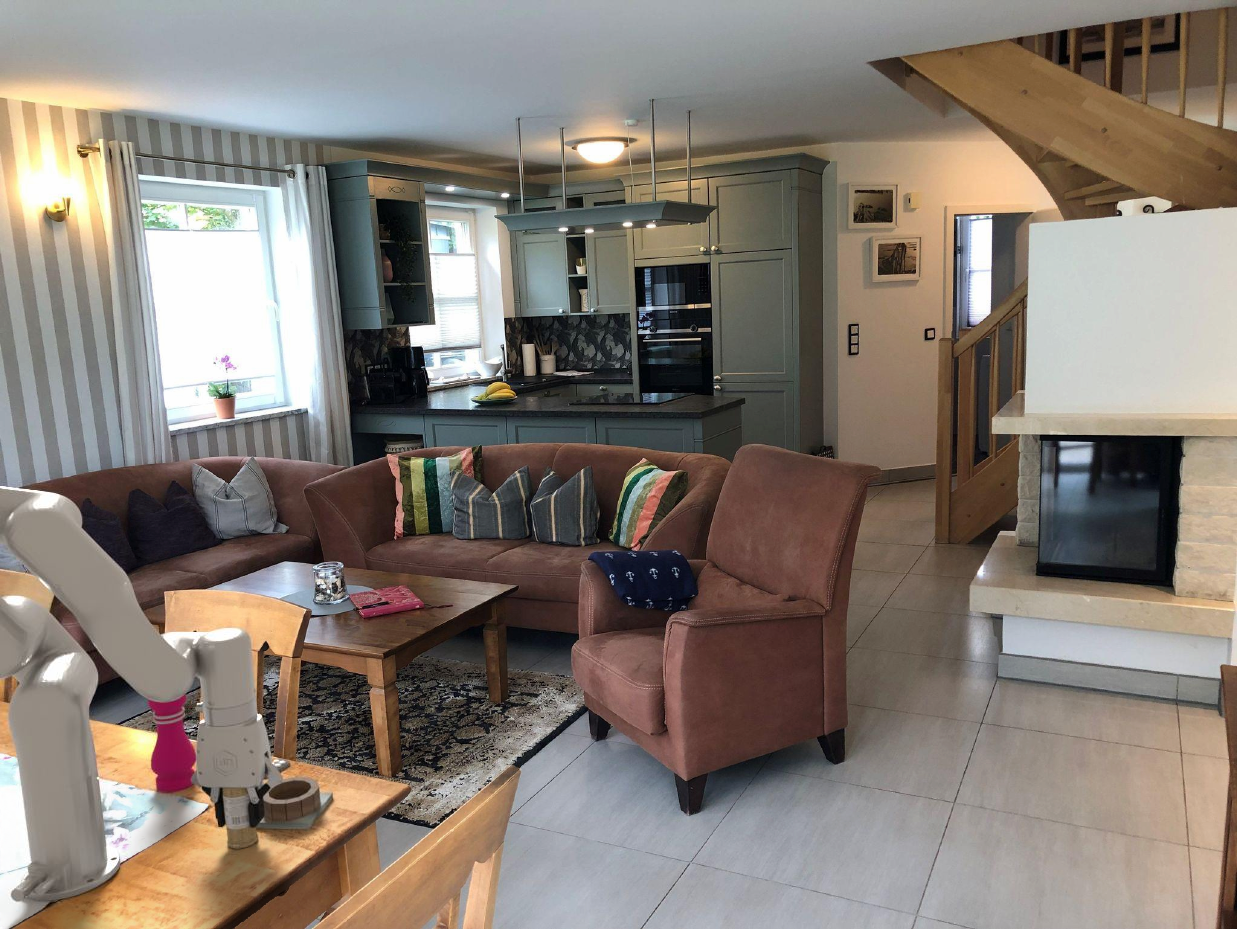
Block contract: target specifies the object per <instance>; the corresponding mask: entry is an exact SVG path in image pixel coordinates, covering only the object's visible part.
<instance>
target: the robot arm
mask: <svg viewBox="0 0 1237 929" xmlns="http://www.w3.org/2000/svg"><path fill="white" fill-rule="evenodd" d="M82 527H83V515H82V513H81V511H80V508H79V507H78V506H77V505H76V504H75V502H73V501H72V500H71V499H70V498H68V497H67V496H65V495H62V494H58V493H55V492H49V491H41V490H34V489H33V490H31V489H25V488H17V487H16V488H15V487H7V486H0V545H5V546H6V548H7V550H8V551H10V553H11V554H12V555H13V556H14V557H15V559H17V560H18V561H19V563H21V564H22V565H23V566H24V567H25V568H26V569H27V570H28V571H29V572H30V573H31V574H32V575H33V576H34V577H36V579H38V580H39V582H40V583H42V584H43V586H45V587H46V588H47V590H49V591H50V592H51V594H53V595H54V596H55V597H56V598H57V599H58V600H59V601H60V602H61V603H62V604H63V605H64V606H65V607H66V608H67V609H68V610H69V611H70V612H71V613H72V614H73V616H74V617H75V618H76V620H77V621H78V622H77V623H79V626H80V627H81V629H82V630H83V632H84V633H85V634H86V635H87V637H88V638H89V640H90V641H91V643H92V644H93V645H94V647H95V649H96V650H97V651H98V652H99V654H100V655H101V656H102V657H103V659H104V660H105V661H106V662H107V664H108V665H109V666H110V667H111V668H112V669H113V670H114V672H116V673H117V674H118V675H119V676H120V677H121V678H122V679H123V680H125V682H126V684H128V685H129V686H130V687H132V688H133V689H134V690H135V691H136V693H138V694H139V695H141V696H142V697H144V698H146V699H147V700H148V699H149V700H152V701H155V702H161V703H163V702H171V701H174V700H177V699H179V698H180V697H182V696H183V695H184V694H186V695H187V694H188V691H190V689H191V687H192V686H193V683H194V681H195V678H197V679H199V684H200V691H201V692H200V693H201V702H197V703H196V705H195V707H194V708H195V712H196V713H201V714H202V720H200V722H198V727H197V735H196V745H195V746H196V748H195V753H196V762H195V764H196V770H194V771H195V773H194V774H193V776H192V777H191V782H192V783H193V785H195V786H197V787H198V788H200V789H201V790H202V792H204V794H206V795H207V796H208V797H209V801H210V802H211V803H213V805H214V813H215V814H214V816H215V819H216V820H217V827H218V828H223V827H225V826H226V822H225V812H224V801H223V788H247V790H248V793H249V796H250V799H251V802H250V803H249V804H248V813H249V824H250V827H251V828H255V827H256V826H257V825H258V824H259V823H260V821H261V820H262V819H263V818H264V815H265V810H264V799H263V796H264V795H265V794H266V793H267V792H268V791H269V790H271V789H272V788H273V787H275V786H276V785H278V784H279V783H280V782H281V781H282V780H283V779H284V776H283V774H282V773H281V771H280V772H279V771H278V770H277V769H276V767H275V766H274V765H273V764H272V762H273V761H272V752H271V746H270V741H269V737H268V733H267V728H266V725H265V722H264V718H263V716H262V714H260V713H259V714H258V705H257V692H256V684H255V683H256V682H255V681H256V680H255V672H254V660H253V649H252V640H251V636H250V634H249V632H247V630H245V629H242V628H237V627H236V628H235V627H226V628H219V629H218V628H217V629H215V630H211V631H207V632H206V631H203V632H202V631H199V632H198V631H196V632H195V631H170V632H165V633H162V634H161V633H159V631H158V630H157V629H156V628H155V627H154V626H153V624H152V623H151V622H150V621H149V619H148V618H147V617H146V615H145V613H144V612H143V610H142V608H141V606H140V604H139V602H138V599H137V597H136V594H135V591H134V588H133V584H132V583H131V579H130V578H129V576H128V575H127V573H126V571H124V569H123V568H122V567H121V566H120V565H119V564H118V563H117V562H116V561H115V560H114V559H113V558H112V557H111V556H110V555H109V554H108V553H107V552H106V551H105V550H104V549H103V548H102V547H101V546H100V545H99V544H98V543H97V542H96V541H95V540H94V539H93V538H92V537H91V536H90V535H89V534H88V533H87V531H86V530H84V529H83V528H82ZM10 677H13V678H15V680H16V681H17V682H18V683H19V684H18V685H17V686H16V689H15V690H14V692H13V693H12V696H11V698H10V701H9V702H10V703H9V706H8V710H7V711H8V714H7V715H8V716H7V718H8V719H7V721H8V728H9V731H10V736H11V739H12V743H13V746H14V750H15V755H16V760H17V765H18V766H17V767H18V772H19V773H18V774H19V779H20V786H21V792H22V800H23V808H24V817H25V825H26V830H27V842H28V849H29V855H30V861H31V862H30V863H29V864H28V865H27V872H26V873H25V874H24V875H23V877H22V878H21V882H20V884H19V885H17V886H16V887H15V888H14V889H13V890H11V892H10V897H11V899H12V901H15V902H16V903H18V902H22V901H24V900H25V899H26V898H29V899H31V900H35V901H55V900H56V901H59V900H63V899H67V898H72V897H74V896H78V895H81V894H83V893H86V892H89V891H91V890H93V889H95V888H97V887H99V886H100V885H103V884H104V883H105V882H106V881H108V880H110V879H111V878H112V877H113V876H114V875H115V874H116V873H117V871H118V870H119V868H120V866H121V856H120V853H119V852H118V850H116V849H115V848H113V847H109V846H107V837H106V830H105V829H106V828H105V821H104V812H103V811H104V810H103V805H102V804H103V803H102V796H101V795H102V794H101V786H100V779H99V778H100V776H99V769H98V768H99V767H98V763H97V754H96V747H95V741H94V737H93V732H92V728H91V727H92V726H91V723H90V722H91V721H90V704H91V702H92V700H93V697H94V695H95V694H96V690H97V688H98V683H99V673H98V669H97V667H96V664H95V662H94V661H93V659H92V658H91V657H90V655H89V654H88V653H87V652H86V650H85V649H84V648H83V647H82V646H81V644H79V643H78V642H77V641H76V639H75V638H74V637H73V636H72V635H71V634H70V633H69V632H68V631H67V629H66V628H64V626H63V625H62V624H61V623H60V622H59V621H58V619H56V617H55V616H54V615H53V614H52V613H51V612H50V611H49V610H48V609H47V608H46V607H44V606H43V605H42V604H40V603H39V602H37V601H36V600H35V599H32V598H29V597H26V596H21V595H5V596H0V680H4V679H7V678H10ZM265 775H267V777H268V778H267V779H268V780H266V782H264V780H265V779H264V776H265Z"/></svg>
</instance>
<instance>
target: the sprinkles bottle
mask: <svg viewBox="0 0 1237 929" xmlns="http://www.w3.org/2000/svg"><path fill="white" fill-rule="evenodd" d="M223 801H224V812H225V822H226V824H225V827H226V836H227V840H226V843H227V844H226V845H227V846H228V847H229V848H231V849H237V850H238V849H245V848H247V847H250V846H252V845H254V844H255V843H257V841H258V839H259V833H258V831H257V827H255V828H251V827H250V824H249V813H248V804H249V803H250V802H251V799H250V796H249V793H248V790H247V788H223Z"/></svg>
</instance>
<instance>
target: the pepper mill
mask: <svg viewBox="0 0 1237 929" xmlns="http://www.w3.org/2000/svg"><path fill="white" fill-rule="evenodd" d="M186 702H187V693H186V694H184V695H183V696H182V697H180V698H179V699H177V700H174V701H171V702H163V703H161V702H155V701H152V700H149V699H147V703H148V707H149V708H150V710H152V711H153V713H152V717H153V720H152V721H153V723H155V724H156V729H157V732H156V733H157V737H156V743H155V745H154V748H153V750H152V754H151V757H150V758H151V759H150V768H151V770H152V773H154V774H156V775H157V776H156V777H155V788H156V790H157V791H159V792H162V793H176V792H180V791H182V790H185V789H188V788H190V787H191V786H192V785H194V783H192V782H191V777H192V776H193V774H194V773H195V771H196V770H195V769H194V768H193V767H194V766H195V764H196V748H195V747H194V745H193V743H192V742H191V740H190V739H189V737H188V735H187V734H186V731H185V728H184V727H185V726H184V718H185V717H186V713H185V710H186V709H185V707H184V705H185V703H186Z"/></svg>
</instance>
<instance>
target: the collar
mask: <svg viewBox="0 0 1237 929" xmlns="http://www.w3.org/2000/svg"><path fill="white" fill-rule="evenodd" d="M263 799H264V810H265V815H264V818H263V819H262V820H261V821H260V823H259V824H258V825H257V826H256V827H257V829H260V830H261V829H262V830H264V829H266V830H269V829H270V830H311V828H312V826H313V825H314V823H315V822H316V821H317V820H318V819H319V817H320V816H321V815H322V814H323V812H324V811H325V810H326V808H327V807H328V805H329V804H330V803H331V802H330V801H332V800H333V799H334V793H333V792H327V791H326V792H323V791H321V792H320V785H319V782H318V781H317V779H314V778H312V777H308V776H294V777H288V778H283V780H282V781H281V782H280V783H279V784H278V785H276V786H275V787H273V788H272V789H271V790H269V791H268V792H267V793H266V794H265V795H264V796H263ZM310 827H311V828H310Z"/></svg>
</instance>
